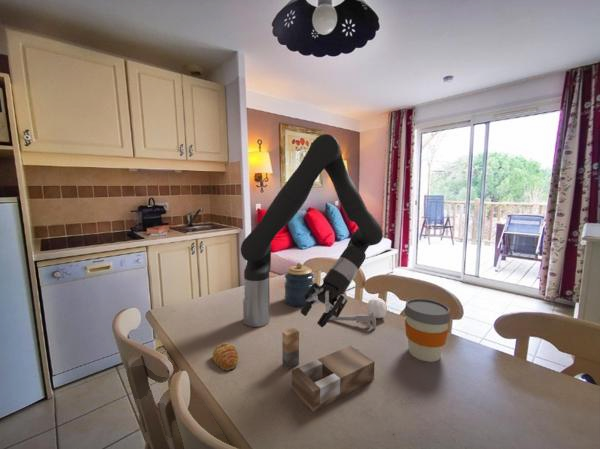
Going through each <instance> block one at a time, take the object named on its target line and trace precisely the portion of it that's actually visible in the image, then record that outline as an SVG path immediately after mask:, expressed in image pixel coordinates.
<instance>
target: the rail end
mask: <svg viewBox="0 0 600 449" xmlns="http://www.w3.org/2000/svg"><path fill="white" fill-rule="evenodd" d="M281 333H282V334H281V336H282V338H281V339H282V342H281V344H282V350H281V351H282V365H283V367H284V368H285V369H286V370H288V369H290V368H293V367H296V366H298V365H299V364H300V331H299V330H298V329H297V328H296V327H292V328H289V329H286V330H282V331H281Z"/></svg>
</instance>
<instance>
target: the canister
mask: <svg viewBox="0 0 600 449" xmlns="http://www.w3.org/2000/svg"><path fill="white" fill-rule="evenodd" d="M314 277H315V275H314V274H313V270H312V268H310V267H308V266H307V265H303V264H302V262H297V263H296V265H291V266H290V267H289V268H287V269H286V273H285V274H284V278H285V281H284V301H285V303H286V304H287V305H289V306H291V307H297V308H298V307H300V308H301V307H303V306H304V305H305V303H306V299H305V298H304V296H305V295H306V293H307V292H308V291H309V289H310V288H311V287H312V286H313V284H314V283H315V282H314ZM310 296H311V294H310V295H309V297H310ZM312 301H313V300H312Z"/></svg>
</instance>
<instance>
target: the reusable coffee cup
mask: <svg viewBox="0 0 600 449" xmlns="http://www.w3.org/2000/svg"><path fill="white" fill-rule="evenodd" d="M404 314H405V319H404V326H405V335H406V338H407V345H408V347H407V348H408V352H409V354H410V355H411V356H412V357H414V358H416V359H417V360H420V361H424V362H429V363H431V362H432V363H433V362H437V361H439V360H440V359H441V356H442V353H443V349H444V348H443V347H444V346H445V345H446V341H447V338H448V333H449V329H450V328H449V323H450V321H451V310H450V308H449V307H448V305H445V304H444V303H443V302H440V301H436V300H433V299H429V298H428V299H427V298H411V299H408V300H407V301H406V302H405V307H404Z"/></svg>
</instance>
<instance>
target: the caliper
mask: <svg viewBox="0 0 600 449" xmlns="http://www.w3.org/2000/svg"><path fill="white" fill-rule="evenodd" d="M328 321H350V322H351V321H353V322H354V321H355V322H356V323H359V324H360V323H361V324H362V323H364V322H365V324H366V325H367V327H368V329H371V323H372V325H373V330H375V329H376V327H377V318H375V315H373V312H372V313H371V314H370V312H369V313H368V312H367V314H356V315H339V316H338V317H335V316H332V317H330V319H329V320H328Z"/></svg>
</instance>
